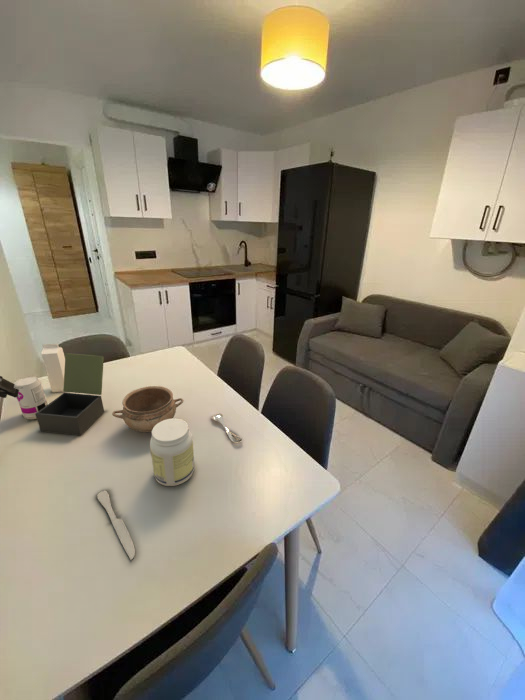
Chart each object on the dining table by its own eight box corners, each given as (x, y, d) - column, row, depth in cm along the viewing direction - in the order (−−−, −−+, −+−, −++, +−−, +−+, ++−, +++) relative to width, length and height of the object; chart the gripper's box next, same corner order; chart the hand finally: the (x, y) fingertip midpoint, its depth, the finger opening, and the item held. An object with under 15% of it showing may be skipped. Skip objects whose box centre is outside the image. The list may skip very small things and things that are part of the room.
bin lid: (102, 356, 114) (103, 356, 114) (65, 353, 115) (66, 353, 115) (100, 395, 114) (101, 394, 115) (63, 391, 115) (64, 391, 116)
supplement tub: (195, 456, 98) (192, 414, 91) (193, 486, 87) (190, 441, 80) (157, 459, 96) (152, 417, 89) (151, 490, 85) (144, 445, 78)
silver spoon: (245, 434, 103) (234, 439, 100) (246, 442, 104) (234, 447, 102) (219, 409, 118) (208, 413, 116) (219, 416, 119) (209, 420, 117)
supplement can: (26, 423, 109) (15, 389, 103) (21, 413, 114) (10, 380, 108) (52, 414, 115) (42, 381, 109) (46, 405, 120) (36, 373, 114)
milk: (57, 385, 134) (45, 341, 125) (72, 384, 136) (60, 340, 127) (51, 392, 129) (38, 346, 120) (67, 391, 130) (55, 346, 121)
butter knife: (106, 488, 84) (95, 494, 82) (139, 553, 68) (126, 562, 66) (107, 489, 84) (96, 495, 82) (139, 554, 68) (126, 563, 66)
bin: (81, 435, 104) (76, 417, 101) (40, 431, 105) (35, 413, 102) (104, 411, 118) (101, 395, 115) (68, 408, 119) (64, 392, 116)
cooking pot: (116, 450, 99) (110, 420, 94) (115, 418, 114) (110, 391, 109) (189, 432, 109) (187, 404, 104) (180, 405, 124) (178, 380, 119)
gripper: (-84, 389, 76) (-18, 406, 98) (-15, 386, 79) (34, 403, 100) (-75, 362, 79) (-12, 384, 100) (-8, 360, 81) (38, 382, 103)
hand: (11, 393), depth 100 cm, fingers open, 3 cm apart
